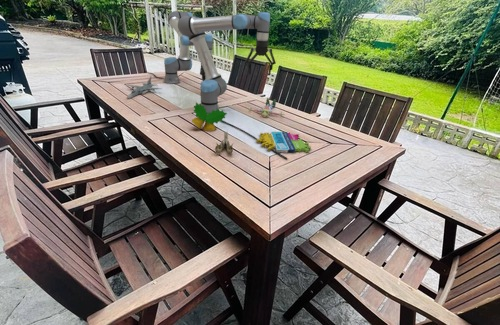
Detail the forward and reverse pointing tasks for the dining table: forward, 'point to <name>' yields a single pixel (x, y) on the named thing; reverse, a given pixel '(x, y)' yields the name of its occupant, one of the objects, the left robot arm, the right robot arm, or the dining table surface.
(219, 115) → the ornament
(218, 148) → the jawbone
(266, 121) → the dining table surface
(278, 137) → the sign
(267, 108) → the toy
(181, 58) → the left robot arm
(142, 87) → the airplane
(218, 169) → the dining table surface
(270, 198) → the dining table surface
